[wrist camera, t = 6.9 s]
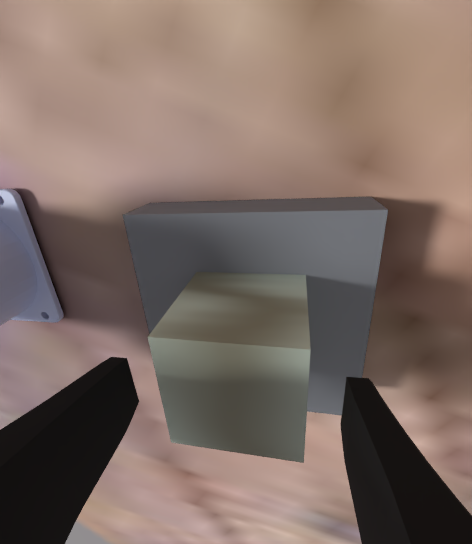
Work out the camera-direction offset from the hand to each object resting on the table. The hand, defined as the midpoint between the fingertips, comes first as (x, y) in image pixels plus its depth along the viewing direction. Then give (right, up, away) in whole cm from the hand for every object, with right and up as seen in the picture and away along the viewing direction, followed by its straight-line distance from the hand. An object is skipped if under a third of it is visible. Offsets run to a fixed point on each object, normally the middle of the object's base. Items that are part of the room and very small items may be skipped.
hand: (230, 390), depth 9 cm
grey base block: (+1, +3, +6) cm, 7 cm away
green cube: (+1, +2, +3) cm, 4 cm away
